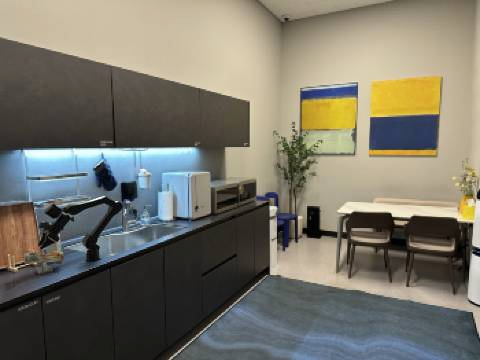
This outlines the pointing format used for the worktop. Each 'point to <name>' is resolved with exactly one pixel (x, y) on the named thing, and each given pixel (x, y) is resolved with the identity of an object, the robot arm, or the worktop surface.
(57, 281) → the worktop surface
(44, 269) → the pivot stand
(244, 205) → the worktop surface
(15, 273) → the worktop surface
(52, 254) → the ball
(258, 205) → the worktop surface
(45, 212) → the robot arm
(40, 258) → the lever
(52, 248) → the skincare box
